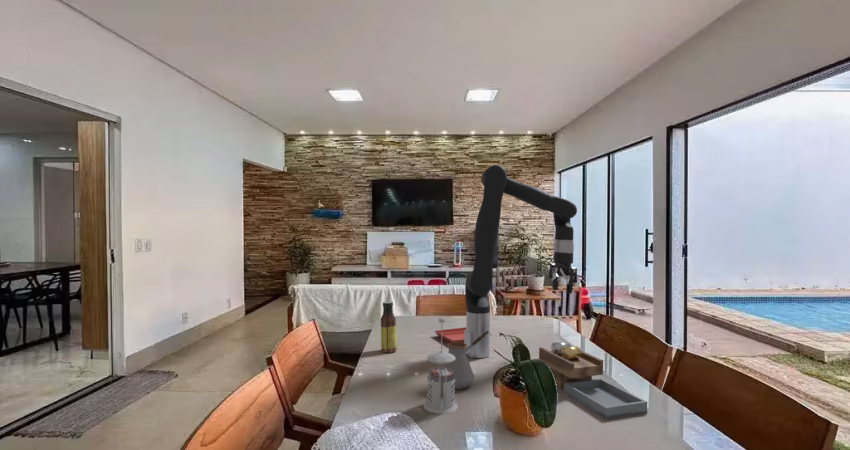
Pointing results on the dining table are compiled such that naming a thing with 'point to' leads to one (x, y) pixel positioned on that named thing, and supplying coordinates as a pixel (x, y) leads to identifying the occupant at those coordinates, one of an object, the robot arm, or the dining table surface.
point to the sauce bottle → (388, 328)
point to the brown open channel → (571, 367)
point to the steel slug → (559, 347)
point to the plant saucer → (452, 335)
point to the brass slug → (571, 352)
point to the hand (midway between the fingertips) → (562, 291)
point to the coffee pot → (461, 363)
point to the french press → (441, 383)
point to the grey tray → (605, 398)
